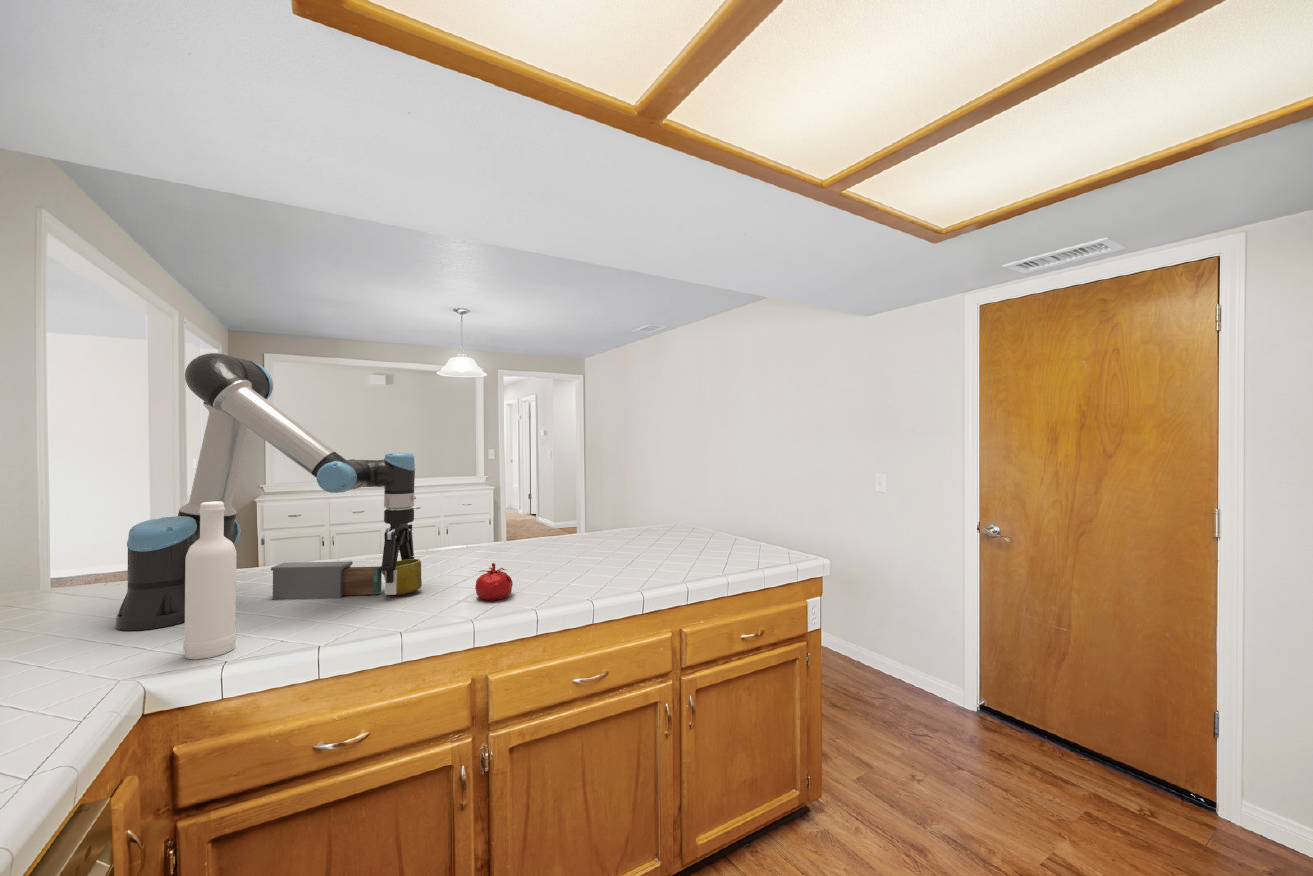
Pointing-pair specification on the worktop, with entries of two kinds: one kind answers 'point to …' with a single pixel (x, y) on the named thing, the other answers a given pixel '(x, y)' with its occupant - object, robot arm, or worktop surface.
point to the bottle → (210, 588)
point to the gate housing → (308, 580)
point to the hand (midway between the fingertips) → (398, 588)
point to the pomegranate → (493, 584)
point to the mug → (408, 576)
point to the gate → (362, 580)
